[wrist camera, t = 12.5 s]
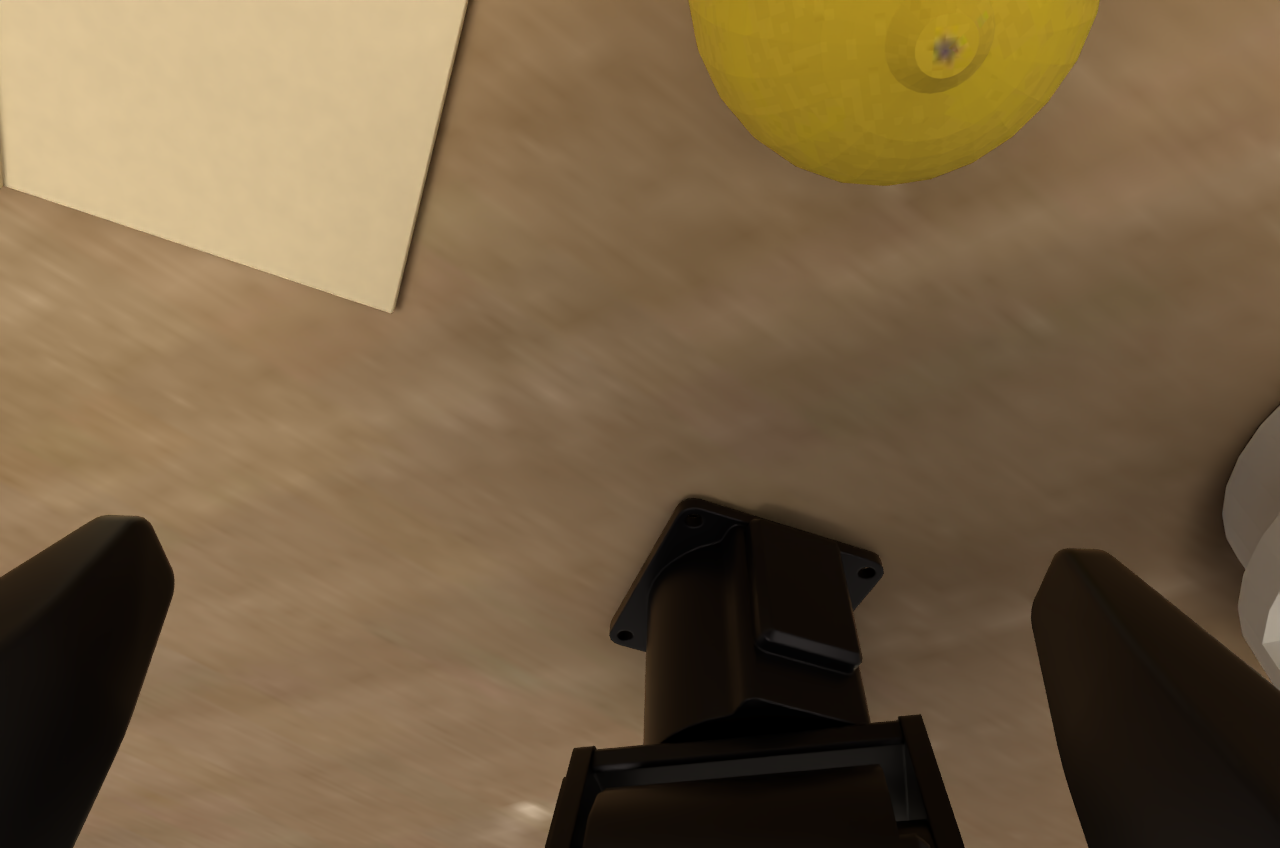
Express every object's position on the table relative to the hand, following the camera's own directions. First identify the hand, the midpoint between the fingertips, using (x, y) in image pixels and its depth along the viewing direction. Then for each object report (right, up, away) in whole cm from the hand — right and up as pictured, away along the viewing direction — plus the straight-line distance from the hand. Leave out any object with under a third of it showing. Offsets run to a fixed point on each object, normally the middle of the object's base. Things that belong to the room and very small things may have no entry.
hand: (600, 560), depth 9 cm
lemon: (+4, +10, +7) cm, 13 cm away
